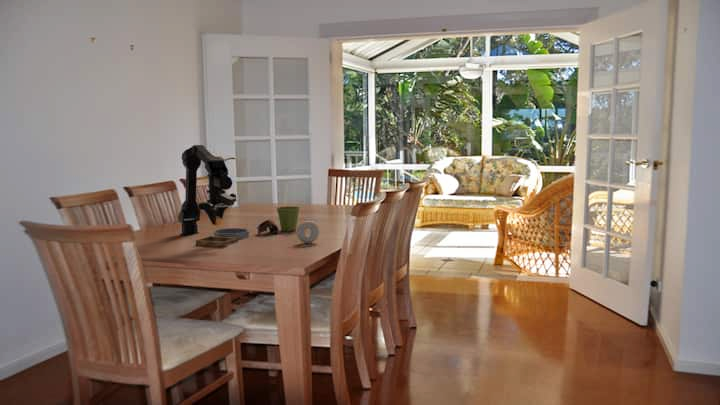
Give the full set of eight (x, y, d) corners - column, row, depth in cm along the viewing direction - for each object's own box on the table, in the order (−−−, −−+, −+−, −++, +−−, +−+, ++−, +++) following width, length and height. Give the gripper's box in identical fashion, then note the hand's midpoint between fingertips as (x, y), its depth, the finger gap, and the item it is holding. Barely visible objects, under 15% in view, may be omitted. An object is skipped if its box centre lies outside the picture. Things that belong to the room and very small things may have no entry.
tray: (196, 245, 255) (195, 240, 255) (210, 241, 266) (210, 236, 265) (224, 247, 251) (224, 242, 251) (238, 242, 261) (238, 238, 261)
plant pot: (297, 227, 302) (297, 205, 300) (302, 231, 291) (302, 208, 289) (274, 229, 298) (273, 206, 297) (278, 232, 287) (278, 209, 286)
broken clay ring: (279, 237, 277) (270, 223, 274) (262, 246, 279) (253, 231, 276) (283, 227, 288) (275, 213, 285) (267, 235, 290) (258, 221, 287)
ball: (210, 226, 256) (210, 216, 256) (215, 224, 260) (215, 215, 259) (218, 226, 255) (218, 217, 254) (223, 225, 259) (223, 216, 258)
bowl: (207, 239, 268) (207, 232, 268) (226, 234, 283) (225, 227, 282) (237, 242, 263) (237, 234, 263) (254, 236, 278) (254, 229, 277)
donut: (297, 244, 257) (297, 221, 256) (295, 243, 260) (295, 220, 259) (320, 243, 261) (320, 220, 260) (317, 241, 264) (317, 219, 263)
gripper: (220, 190, 244) (221, 228, 246) (243, 186, 261) (244, 221, 263) (196, 189, 248) (197, 226, 250) (221, 185, 265) (222, 220, 267)
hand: (216, 224), depth 257 cm, fingers closed on ball, 4 cm apart
